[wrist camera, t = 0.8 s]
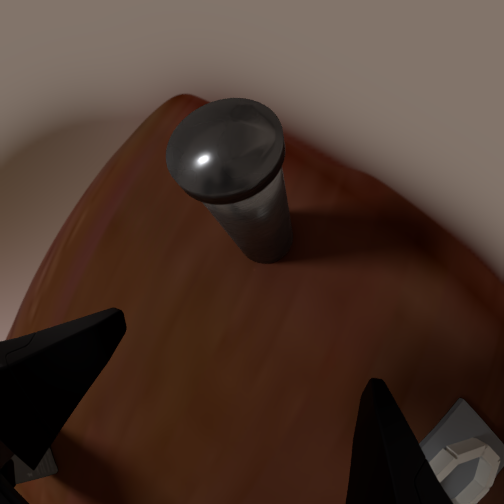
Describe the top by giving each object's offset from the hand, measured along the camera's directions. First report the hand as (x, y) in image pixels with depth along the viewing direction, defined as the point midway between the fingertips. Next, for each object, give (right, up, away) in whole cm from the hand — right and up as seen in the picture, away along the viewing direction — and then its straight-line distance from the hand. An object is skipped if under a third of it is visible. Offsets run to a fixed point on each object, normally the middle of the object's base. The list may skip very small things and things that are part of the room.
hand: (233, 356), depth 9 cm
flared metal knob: (+2, +5, +15) cm, 15 cm away
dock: (+18, -17, +6) cm, 25 cm away
